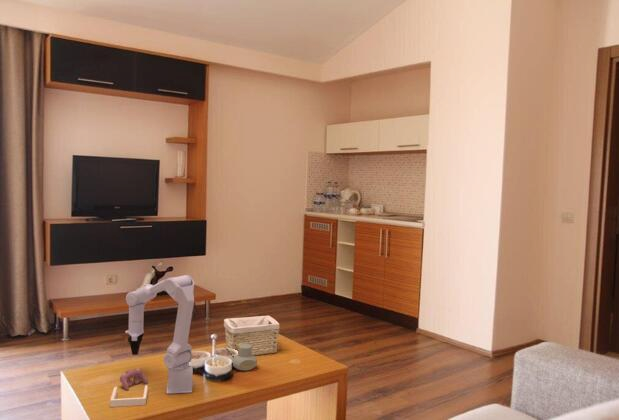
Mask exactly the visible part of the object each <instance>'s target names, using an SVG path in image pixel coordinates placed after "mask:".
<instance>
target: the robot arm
mask: <svg viewBox="0 0 619 420" xmlns="http://www.w3.org/2000/svg"><path fill="white" fill-rule="evenodd" d="M195 284H196V283H195V281H194V280H193V278H192V277H191V276H190V275H189V274H184V275H180V276H174V277H167V278H165V279H163V280H160V281H159V282H157V283H155V284H150V283H145V284H143V287H138V288H136V289H135V290H134V291H129V292H128V293H127V294H126V295H125V302H126V304H127V306H128V329H127V330H125V334H128V335H129V337H128V338H127V341H128V344H129V346H130V349H131V355H133V356H138V355H139V353H140V352H139V351H140V346H141V342H142V341H143V337H144V332H145V331H144V317H145V316H144V314H145V313H144V311H145V310H144V309H145V307H146V303H147V302H148V301H150V300H152V299H155V298H156V297H157V294H158V293H161V292H163V291H164V292H166V293H167V295H169V296H170V297H171V298H172V299H173V300H174V302H177V303H178V306H177V313H176V318H175V325H174V333H173V338H172V343H171V344H170V345H169V346H168V347H167V349H166V353H165V354H164V357H163V363H164V365H165V367H166V369H168V371H167V373H168V374H167V384H166V395H171V394H173V395H174V394H189V393H192V392H193V386H194V380H193V376H194V375H193V374H194V373H193V370H194V369H193V366H192V365H190V363H191V361H192V359H193V353H192V351H193V350H192V349H193V346H192V345H191V344H190V343H189V335H190V329H191V323H192V317H193V310H194V305H195V304H194V303H195V295H194V292H195V291H194V290H195Z"/></svg>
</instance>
